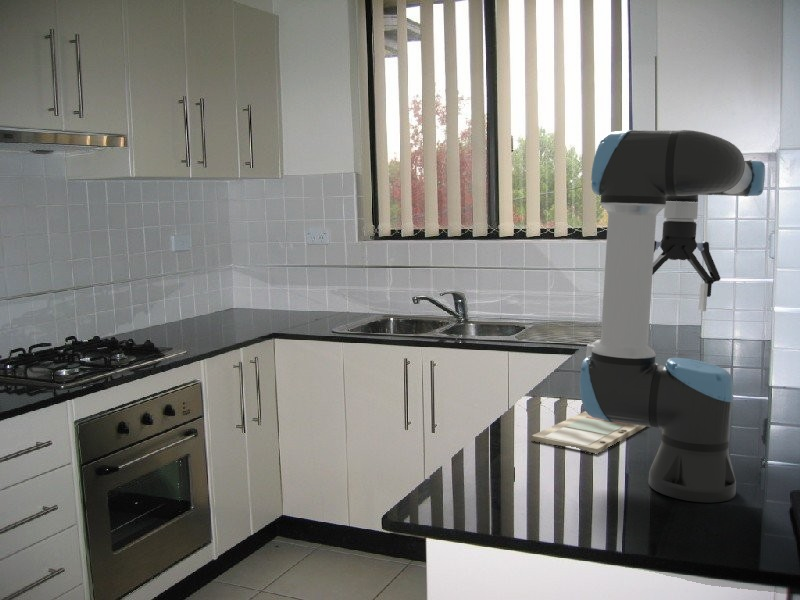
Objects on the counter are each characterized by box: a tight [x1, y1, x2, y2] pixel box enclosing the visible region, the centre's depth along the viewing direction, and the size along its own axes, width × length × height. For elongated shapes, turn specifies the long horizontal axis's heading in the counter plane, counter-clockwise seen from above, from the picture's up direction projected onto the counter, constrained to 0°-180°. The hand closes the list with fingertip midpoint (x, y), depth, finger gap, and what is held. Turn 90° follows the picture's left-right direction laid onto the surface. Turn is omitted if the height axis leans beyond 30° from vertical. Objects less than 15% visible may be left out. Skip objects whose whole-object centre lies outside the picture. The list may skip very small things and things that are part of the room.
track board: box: [531, 410, 648, 455], centre depth 192 cm, size 35×15×1 cm, turn 144°
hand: (673, 309), depth 201 cm, fingers open, 13 cm apart
